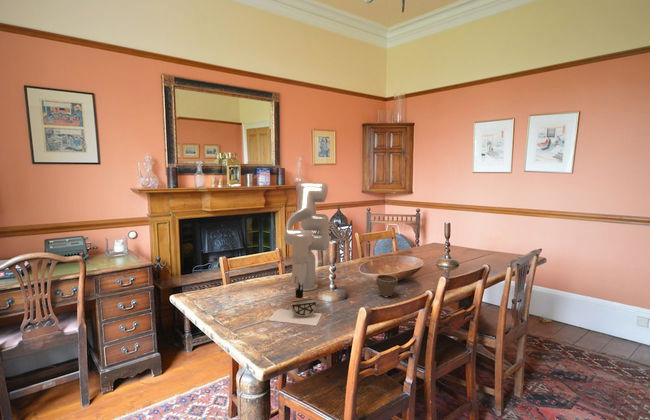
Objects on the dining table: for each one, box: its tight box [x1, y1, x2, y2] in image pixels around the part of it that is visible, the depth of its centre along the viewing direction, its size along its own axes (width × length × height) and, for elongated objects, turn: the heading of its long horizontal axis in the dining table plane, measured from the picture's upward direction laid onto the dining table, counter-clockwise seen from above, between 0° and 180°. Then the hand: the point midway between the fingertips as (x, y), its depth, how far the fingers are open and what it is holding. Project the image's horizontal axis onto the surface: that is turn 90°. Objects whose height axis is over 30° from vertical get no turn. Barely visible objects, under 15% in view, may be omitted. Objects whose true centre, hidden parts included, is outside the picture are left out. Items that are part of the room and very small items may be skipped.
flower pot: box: [376, 274, 399, 297], centre depth 196 cm, size 12×11×10 cm
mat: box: [268, 308, 323, 327], centre depth 165 cm, size 13×22×1 cm, turn 79°
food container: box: [290, 298, 318, 317], centre depth 169 cm, size 12×6×10 cm
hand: (299, 297), depth 170 cm, fingers closed
